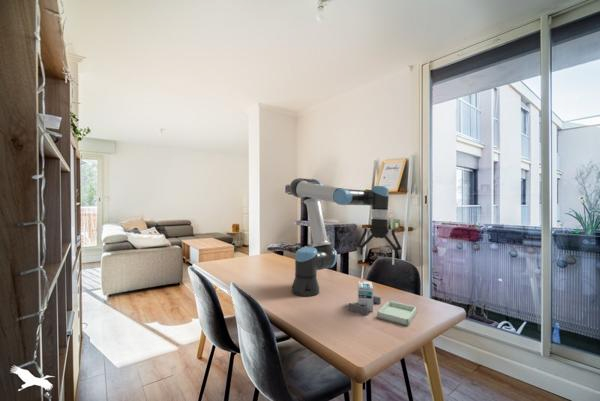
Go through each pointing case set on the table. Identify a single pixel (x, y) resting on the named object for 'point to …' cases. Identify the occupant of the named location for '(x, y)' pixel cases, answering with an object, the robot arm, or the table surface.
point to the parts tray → (397, 312)
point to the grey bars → (361, 308)
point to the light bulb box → (365, 294)
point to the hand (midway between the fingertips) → (378, 262)
